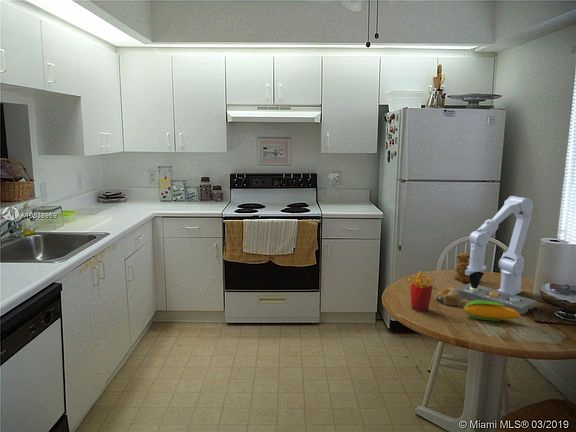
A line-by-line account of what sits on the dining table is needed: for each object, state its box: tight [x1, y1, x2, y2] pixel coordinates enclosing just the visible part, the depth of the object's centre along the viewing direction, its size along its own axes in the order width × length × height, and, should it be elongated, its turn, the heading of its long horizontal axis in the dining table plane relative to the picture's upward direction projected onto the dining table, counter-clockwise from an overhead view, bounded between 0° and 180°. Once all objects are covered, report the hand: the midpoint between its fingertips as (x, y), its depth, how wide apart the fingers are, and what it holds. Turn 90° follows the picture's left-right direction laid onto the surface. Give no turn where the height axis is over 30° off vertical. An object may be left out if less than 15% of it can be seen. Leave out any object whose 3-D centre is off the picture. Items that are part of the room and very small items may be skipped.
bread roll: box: [436, 287, 462, 306], centre depth 203 cm, size 10×10×8 cm
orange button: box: [489, 292, 499, 297], centre depth 205 cm, size 4×4×3 cm
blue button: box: [509, 297, 520, 303], centre depth 198 cm, size 4×4×3 cm
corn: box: [463, 300, 521, 322], centre depth 184 cm, size 7×8×20 cm
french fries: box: [407, 271, 434, 312], centre depth 194 cm, size 9×8×15 cm
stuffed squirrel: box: [451, 252, 471, 283], centre depth 235 cm, size 10×14×13 cm
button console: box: [453, 282, 538, 316], centre depth 205 cm, size 14×30×3 cm, turn 39°
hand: (474, 287), depth 212 cm, fingers closed, pressing on green button
